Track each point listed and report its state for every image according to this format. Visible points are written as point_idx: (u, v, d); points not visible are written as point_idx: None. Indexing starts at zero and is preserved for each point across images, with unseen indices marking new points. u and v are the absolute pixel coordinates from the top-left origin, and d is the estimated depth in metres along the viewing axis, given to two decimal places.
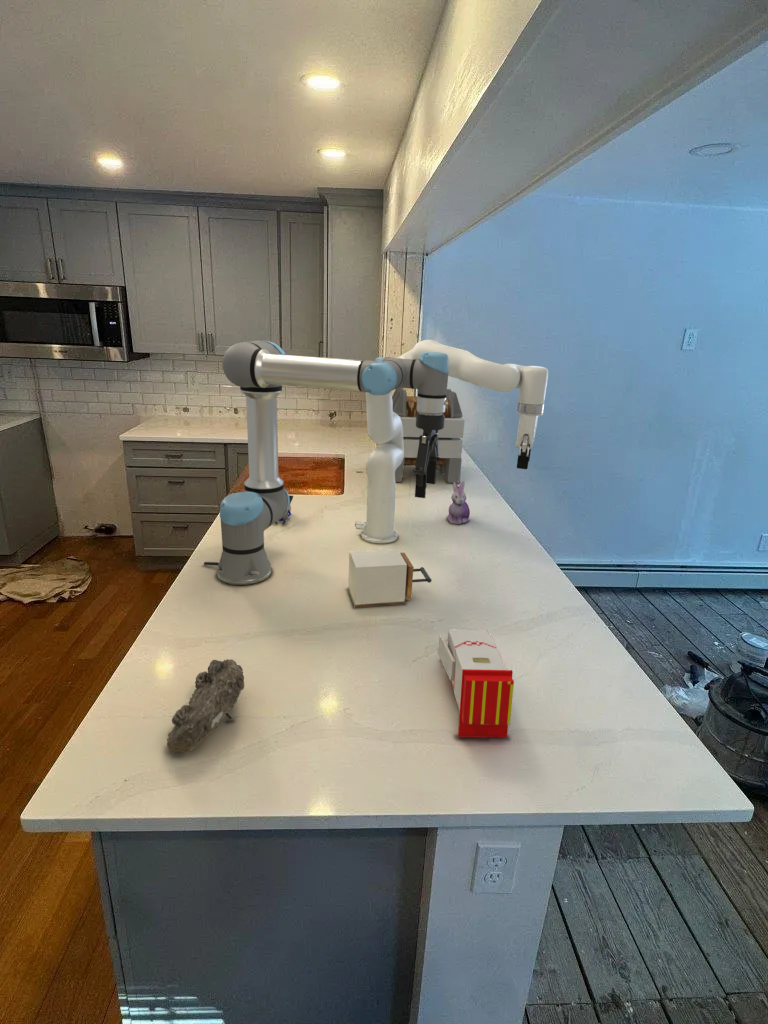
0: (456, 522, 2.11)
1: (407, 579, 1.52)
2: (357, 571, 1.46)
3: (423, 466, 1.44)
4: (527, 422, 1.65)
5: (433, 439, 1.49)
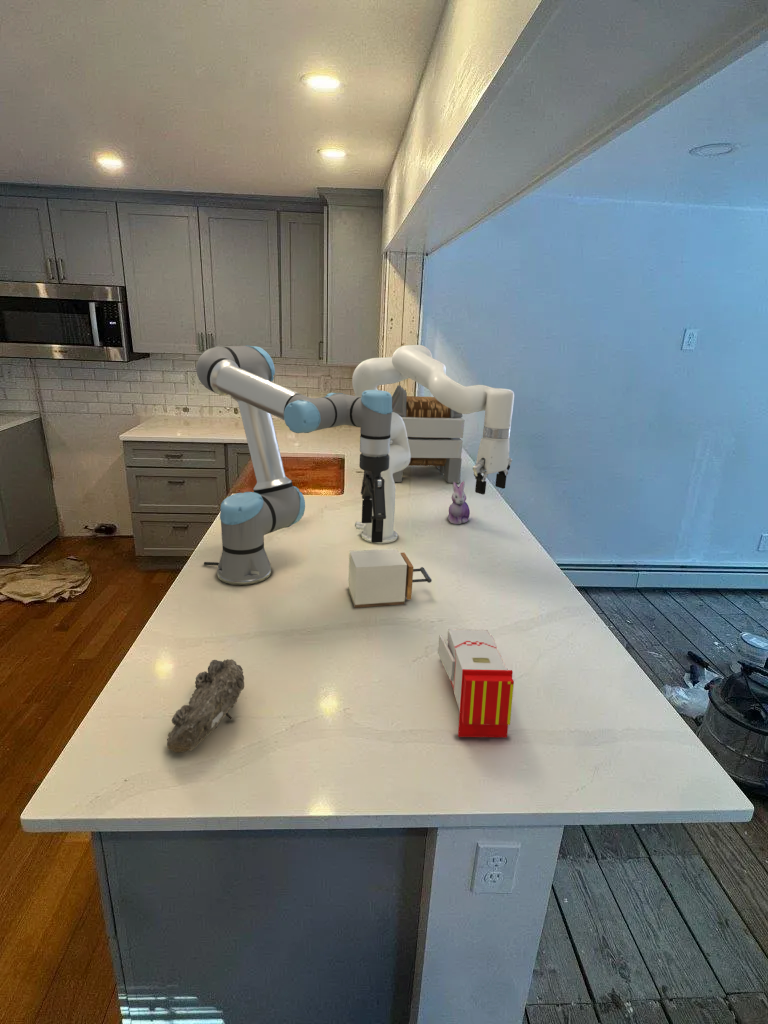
0: (456, 522, 2.11)
1: (407, 579, 1.52)
2: (357, 571, 1.46)
3: (384, 511, 1.38)
4: (484, 446, 1.59)
5: None
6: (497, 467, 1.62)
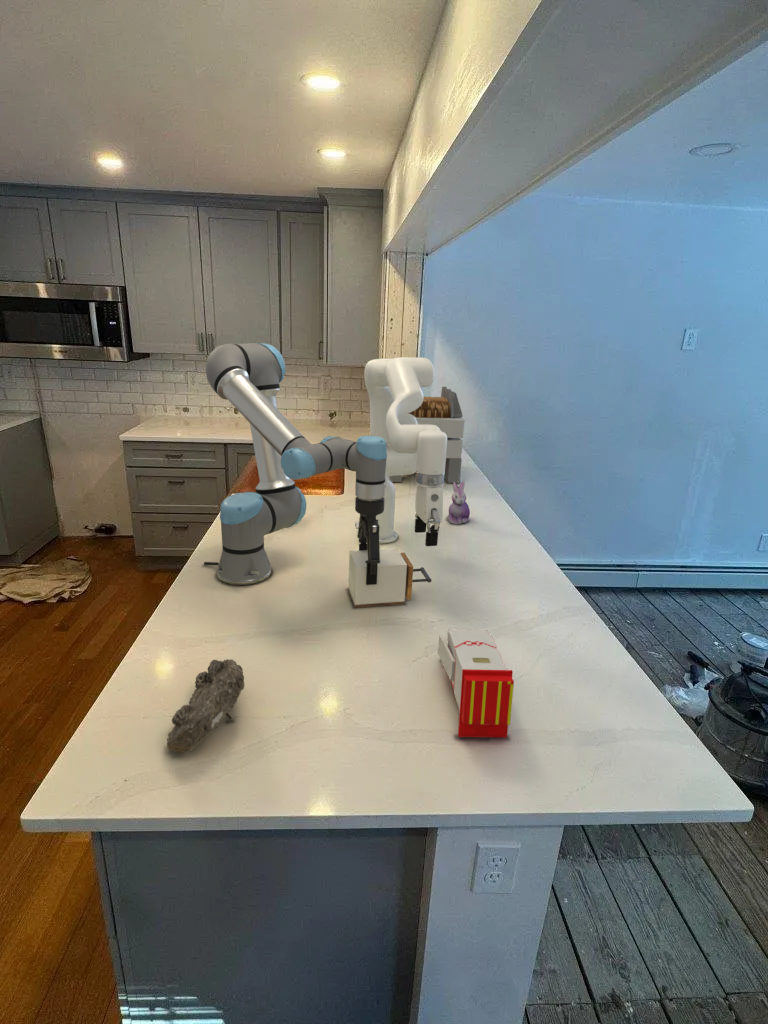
0: (456, 522, 2.11)
1: (407, 579, 1.52)
2: (357, 571, 1.46)
3: (378, 556, 1.42)
4: None
5: (376, 523, 1.46)
6: (418, 511, 1.52)
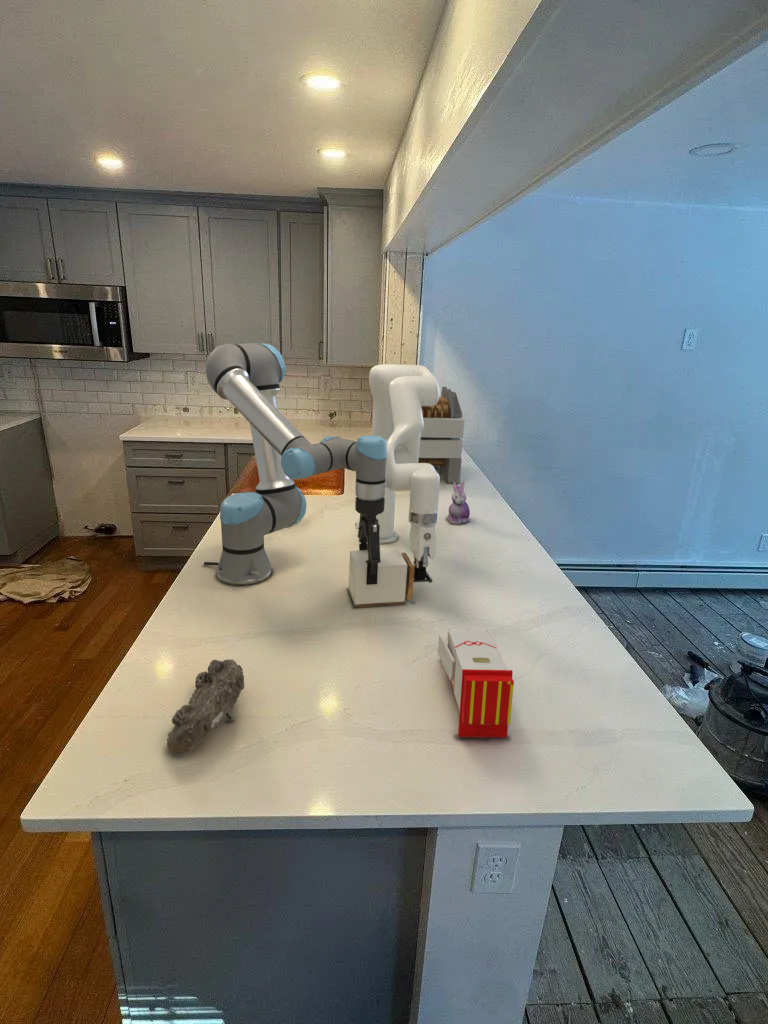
0: (456, 522, 2.11)
1: (408, 579, 1.52)
2: (357, 571, 1.46)
3: (378, 555, 1.42)
4: None
5: (377, 522, 1.46)
6: (412, 548, 1.54)
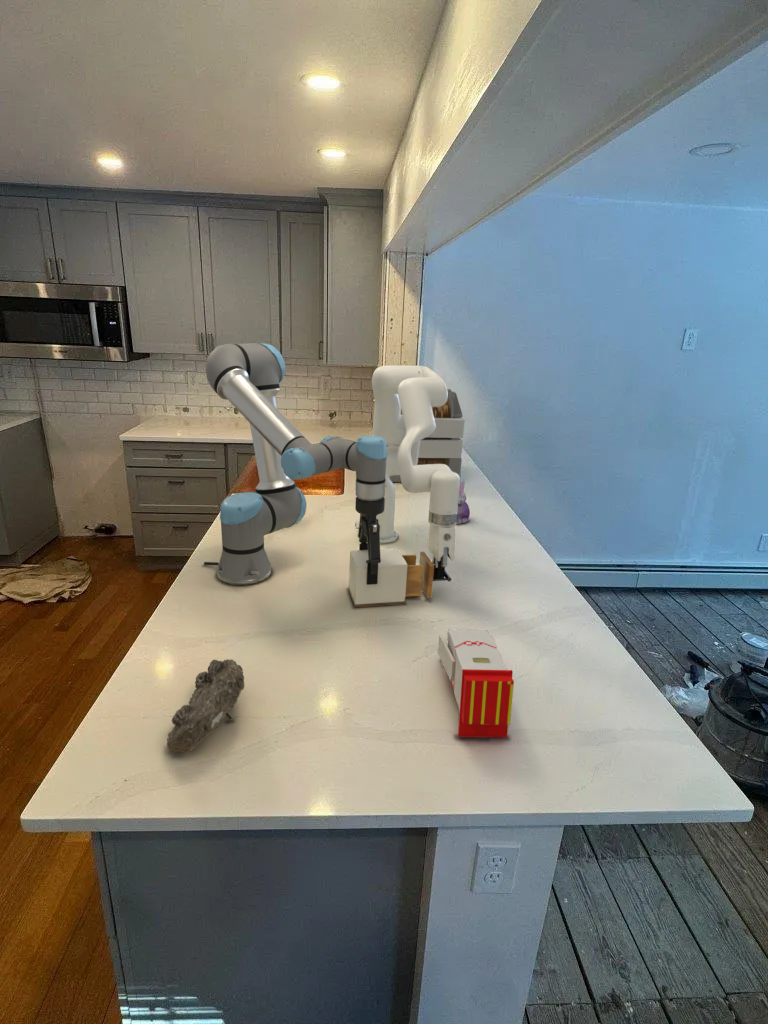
0: (456, 522, 2.11)
1: (427, 578, 1.53)
2: (358, 571, 1.46)
3: (378, 555, 1.42)
4: None
5: (377, 522, 1.46)
6: (431, 548, 1.55)
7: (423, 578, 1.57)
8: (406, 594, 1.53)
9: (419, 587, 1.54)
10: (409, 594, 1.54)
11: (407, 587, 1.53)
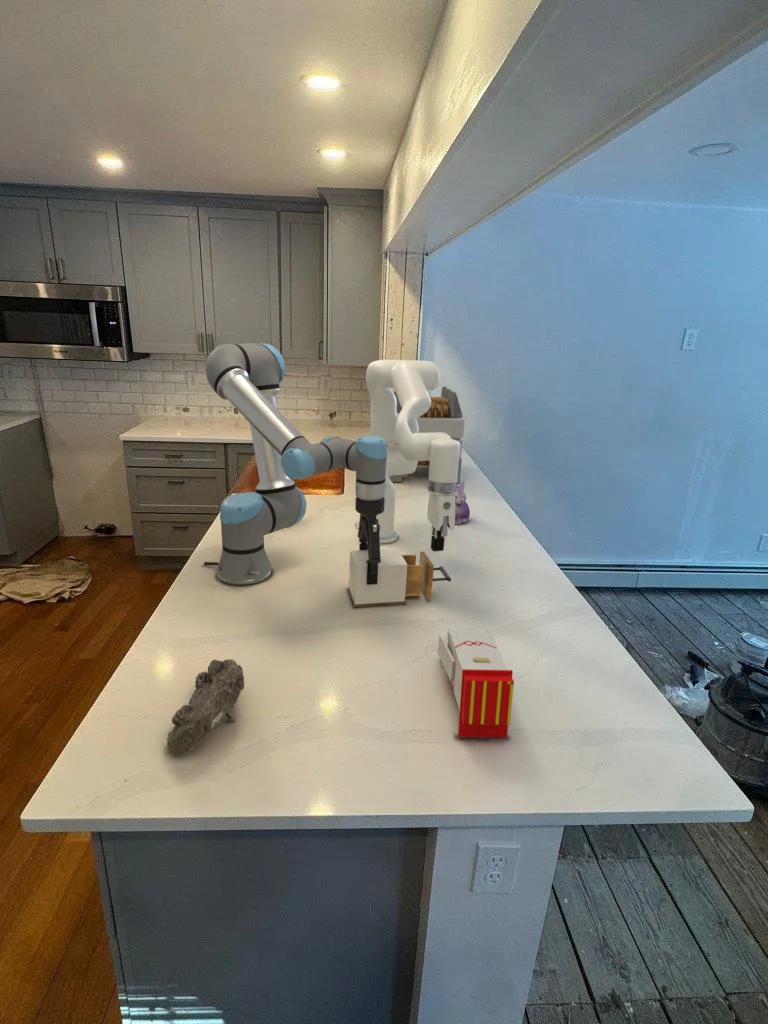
0: (456, 522, 2.11)
1: (427, 578, 1.53)
2: (358, 571, 1.46)
3: (378, 556, 1.42)
4: None
5: (377, 522, 1.46)
6: (430, 518, 1.52)
7: (423, 578, 1.57)
8: (406, 594, 1.53)
9: (418, 587, 1.54)
10: (409, 594, 1.54)
11: (407, 587, 1.53)
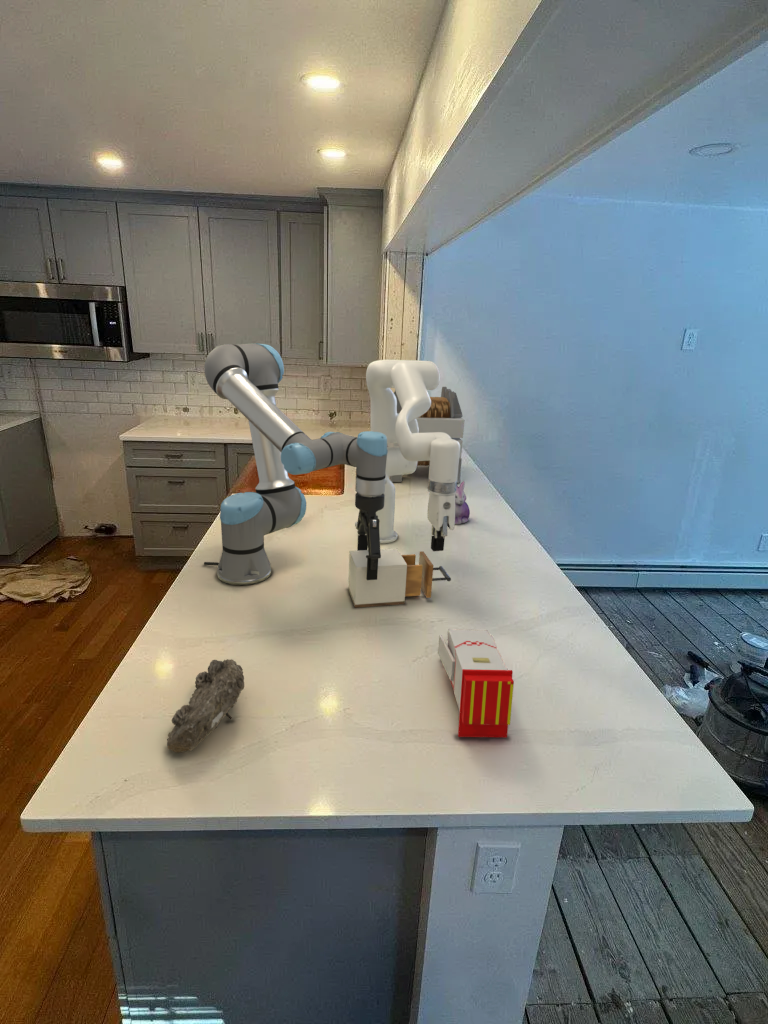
0: (456, 522, 2.11)
1: (427, 578, 1.53)
2: (357, 571, 1.46)
3: (379, 550, 1.41)
4: None
5: (376, 519, 1.46)
6: (430, 518, 1.52)
7: (422, 578, 1.57)
8: (406, 594, 1.53)
9: (418, 586, 1.54)
10: (409, 594, 1.54)
11: (406, 587, 1.53)
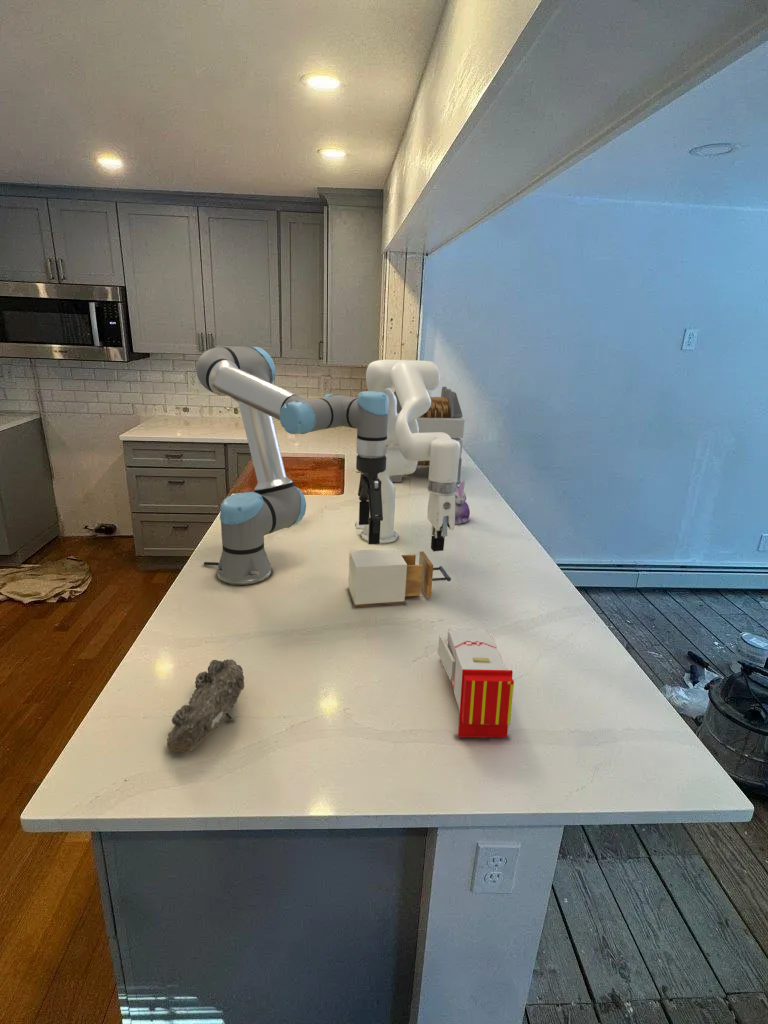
0: (456, 522, 2.11)
1: (427, 578, 1.53)
2: (357, 571, 1.46)
3: (381, 512, 1.37)
4: None
5: None
6: (430, 518, 1.52)
7: (422, 578, 1.57)
8: (406, 594, 1.53)
9: (418, 586, 1.54)
10: (409, 594, 1.54)
11: (406, 587, 1.53)
